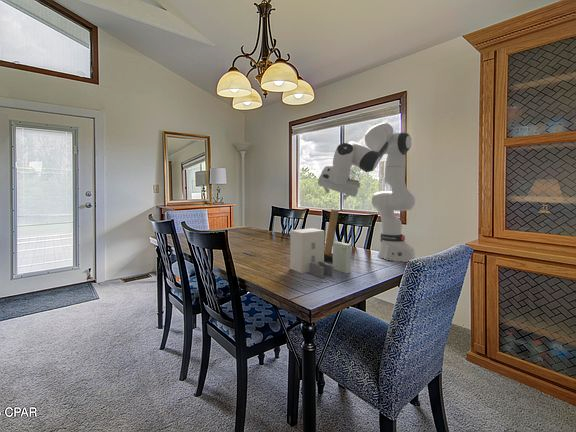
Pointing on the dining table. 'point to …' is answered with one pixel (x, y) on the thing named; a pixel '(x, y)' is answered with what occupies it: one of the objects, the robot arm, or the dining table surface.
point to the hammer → (330, 236)
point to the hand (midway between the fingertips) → (335, 195)
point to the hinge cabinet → (308, 252)
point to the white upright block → (342, 257)
